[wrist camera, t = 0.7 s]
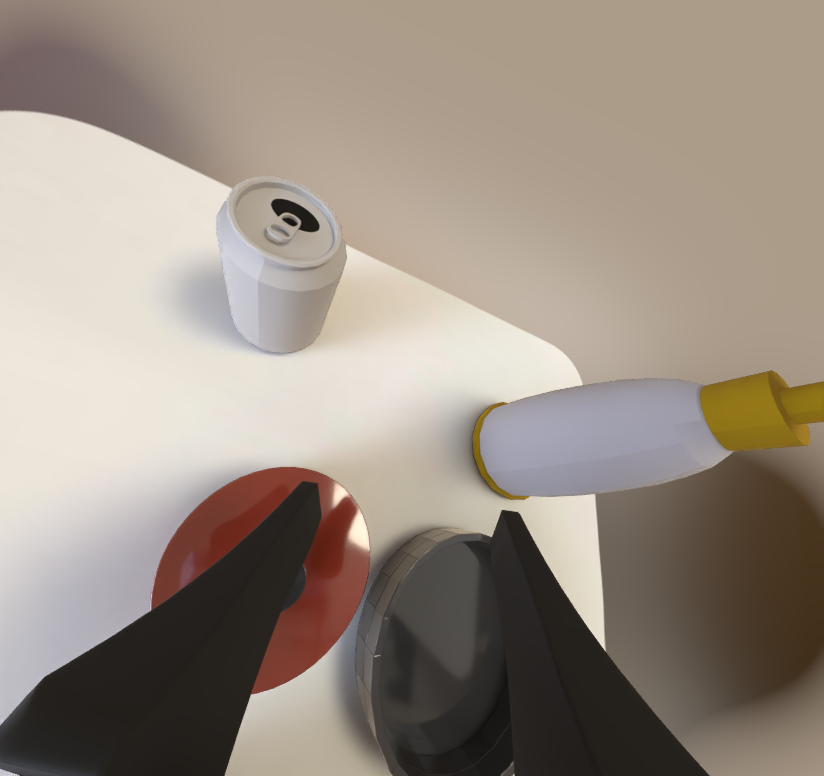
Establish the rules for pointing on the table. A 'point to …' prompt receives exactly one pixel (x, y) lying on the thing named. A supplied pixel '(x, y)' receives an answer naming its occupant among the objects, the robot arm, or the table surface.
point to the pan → (436, 660)
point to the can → (279, 261)
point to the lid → (317, 580)
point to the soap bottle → (636, 432)
